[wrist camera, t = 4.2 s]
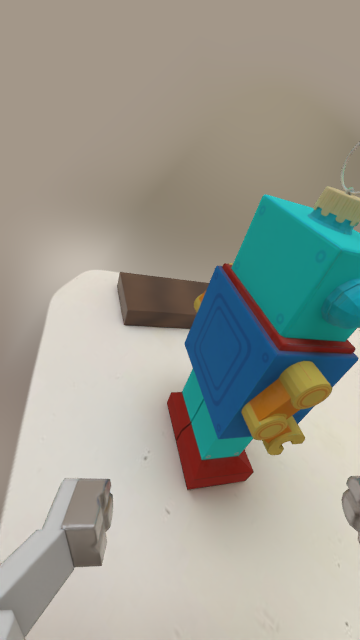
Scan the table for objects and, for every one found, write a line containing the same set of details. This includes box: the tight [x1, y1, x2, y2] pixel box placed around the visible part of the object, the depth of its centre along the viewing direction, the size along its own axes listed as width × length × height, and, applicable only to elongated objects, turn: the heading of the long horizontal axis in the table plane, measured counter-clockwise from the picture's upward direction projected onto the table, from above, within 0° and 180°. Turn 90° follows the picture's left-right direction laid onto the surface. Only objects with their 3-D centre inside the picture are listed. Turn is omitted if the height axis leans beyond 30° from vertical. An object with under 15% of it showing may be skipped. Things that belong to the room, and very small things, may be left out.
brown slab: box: [117, 272, 209, 329], centre depth 43 cm, size 24×9×2 cm, turn 105°
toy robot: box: [167, 142, 360, 490], centre depth 19 cm, size 12×6×25 cm, turn 14°
